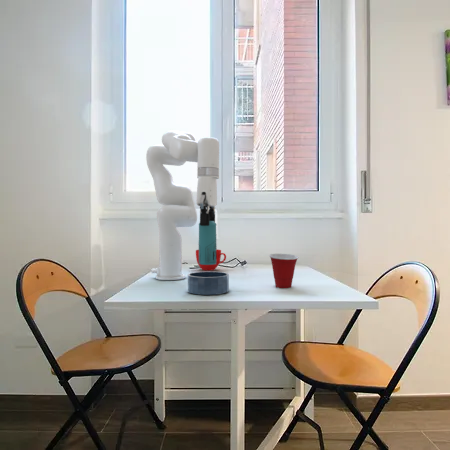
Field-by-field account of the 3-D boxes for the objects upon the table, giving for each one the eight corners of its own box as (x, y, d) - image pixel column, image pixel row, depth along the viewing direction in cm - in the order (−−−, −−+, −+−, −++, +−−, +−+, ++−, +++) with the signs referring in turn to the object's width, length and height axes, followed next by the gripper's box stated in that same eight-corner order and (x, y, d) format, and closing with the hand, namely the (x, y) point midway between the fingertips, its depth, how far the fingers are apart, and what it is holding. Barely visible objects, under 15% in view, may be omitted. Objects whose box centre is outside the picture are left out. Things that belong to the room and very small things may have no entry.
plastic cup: (280, 290, 124) (280, 256, 124) (263, 285, 134) (263, 254, 134) (304, 288, 129) (304, 255, 129) (286, 283, 139) (286, 253, 139)
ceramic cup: (218, 272, 168) (218, 251, 168) (190, 270, 177) (190, 250, 177) (232, 269, 179) (232, 250, 179) (205, 267, 188) (205, 248, 188)
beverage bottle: (214, 269, 119) (214, 210, 119) (195, 268, 121) (196, 210, 120) (218, 267, 126) (219, 211, 125) (200, 266, 127) (201, 211, 127)
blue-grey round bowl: (186, 295, 115) (186, 277, 115) (189, 287, 130) (189, 271, 130) (229, 295, 116) (229, 277, 116) (227, 287, 130) (227, 271, 130)
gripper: (205, 177, 132) (204, 224, 132) (189, 171, 115) (189, 225, 115) (224, 176, 130) (223, 225, 130) (211, 170, 113) (211, 226, 114)
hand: (207, 224), depth 123 cm, fingers closed on beverage bottle, 6 cm apart
